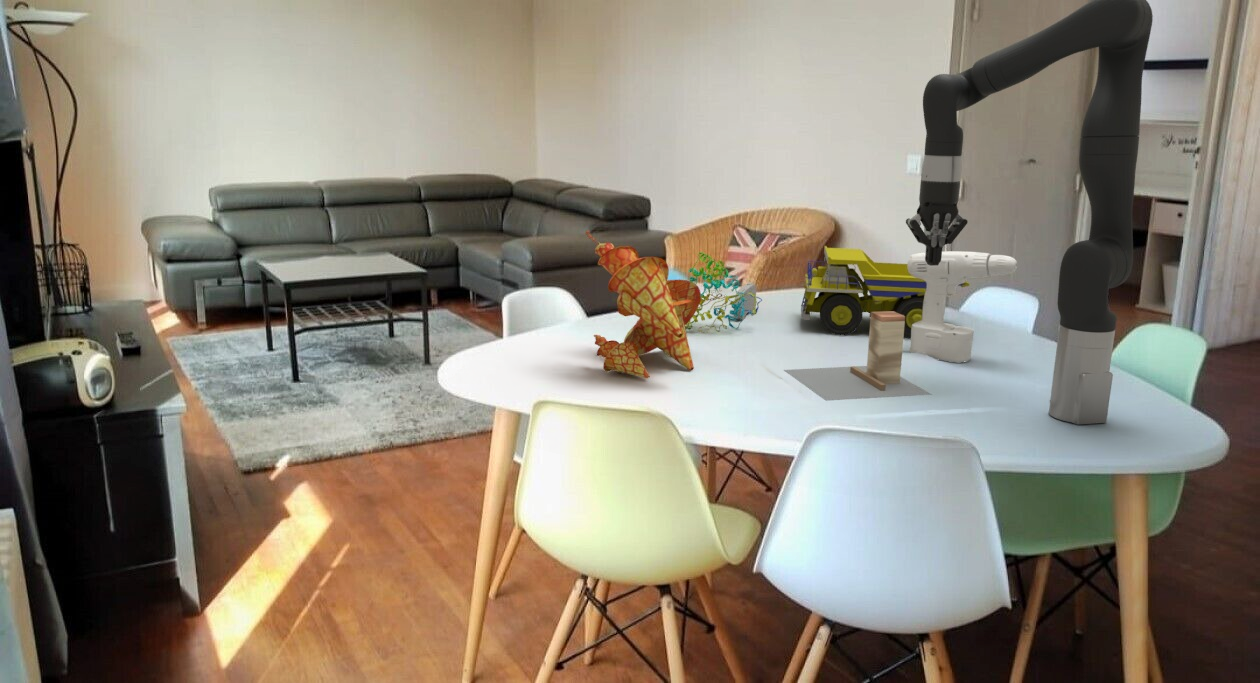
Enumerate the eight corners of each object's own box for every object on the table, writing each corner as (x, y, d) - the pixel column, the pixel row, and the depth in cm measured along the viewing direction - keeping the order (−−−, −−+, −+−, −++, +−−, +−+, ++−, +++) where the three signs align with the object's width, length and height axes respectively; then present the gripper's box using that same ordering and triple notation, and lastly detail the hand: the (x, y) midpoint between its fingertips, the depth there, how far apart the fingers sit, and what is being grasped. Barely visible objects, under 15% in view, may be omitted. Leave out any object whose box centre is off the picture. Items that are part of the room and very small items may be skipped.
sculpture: (682, 316, 179) (588, 193, 193) (604, 408, 192) (521, 287, 207) (771, 315, 204) (682, 207, 219) (696, 397, 217) (617, 290, 232)
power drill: (999, 371, 205) (1011, 258, 199) (894, 353, 220) (902, 247, 214) (1011, 363, 212) (1023, 254, 206) (908, 346, 226) (917, 243, 220)
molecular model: (680, 254, 228) (693, 232, 241) (656, 326, 239) (670, 301, 252) (767, 287, 226) (776, 263, 239) (739, 358, 237) (748, 332, 250)
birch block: (899, 382, 192) (905, 316, 189) (877, 384, 191) (882, 317, 188) (888, 376, 197) (893, 311, 194) (866, 377, 196) (871, 311, 192)
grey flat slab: (747, 308, 269) (749, 279, 267) (755, 309, 268) (756, 280, 266) (732, 322, 251) (733, 291, 249) (740, 323, 250) (741, 292, 248)
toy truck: (965, 343, 231) (973, 263, 226) (801, 335, 237) (805, 257, 232) (949, 322, 254) (956, 249, 249) (799, 315, 260) (803, 244, 255)
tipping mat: (931, 399, 185) (932, 388, 184) (825, 405, 180) (826, 394, 180) (879, 369, 206) (880, 359, 205) (783, 374, 201) (783, 364, 200)
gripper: (919, 180, 181) (912, 268, 185) (981, 180, 184) (972, 267, 188) (900, 177, 188) (893, 262, 192) (960, 177, 191) (952, 261, 195)
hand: (932, 264), depth 190 cm, fingers closed
